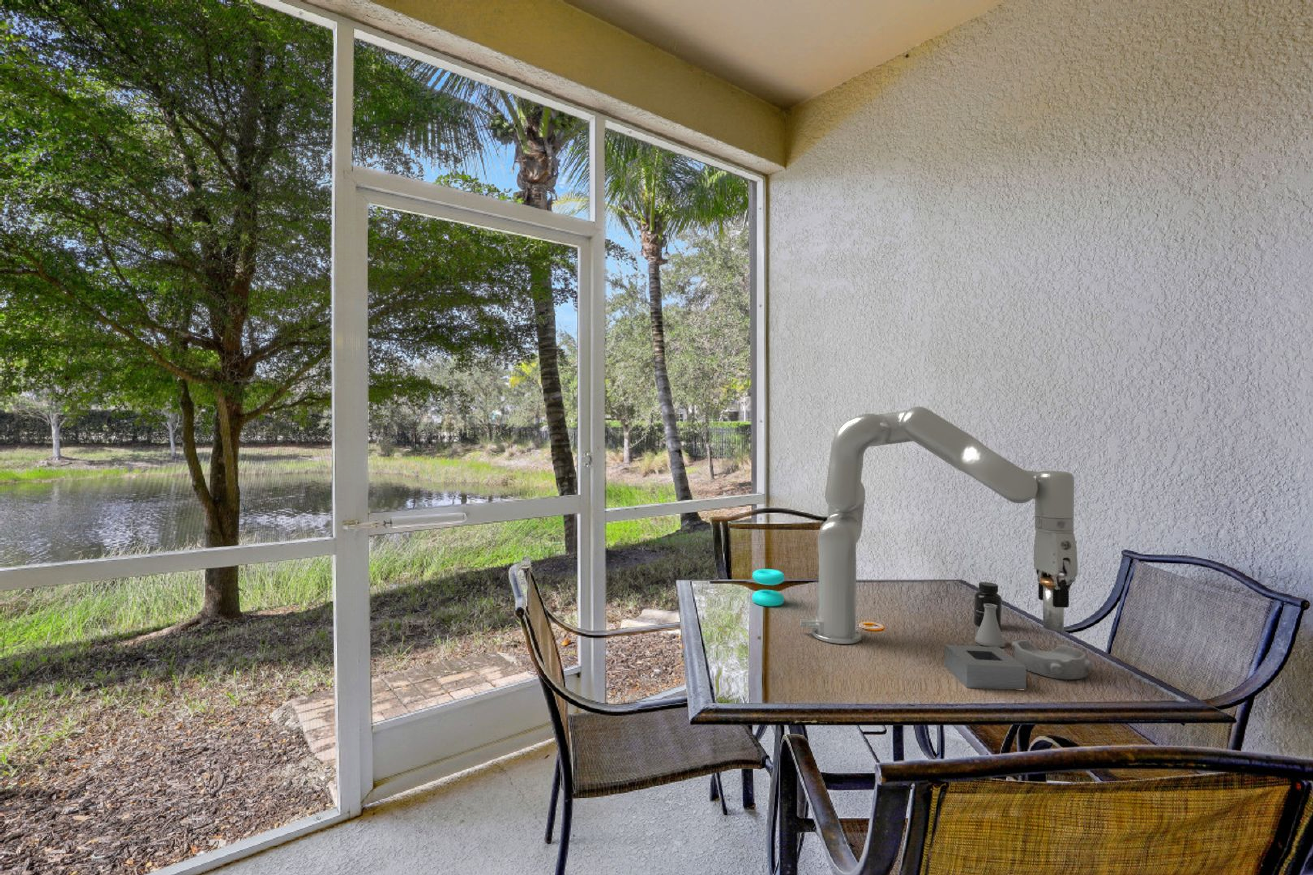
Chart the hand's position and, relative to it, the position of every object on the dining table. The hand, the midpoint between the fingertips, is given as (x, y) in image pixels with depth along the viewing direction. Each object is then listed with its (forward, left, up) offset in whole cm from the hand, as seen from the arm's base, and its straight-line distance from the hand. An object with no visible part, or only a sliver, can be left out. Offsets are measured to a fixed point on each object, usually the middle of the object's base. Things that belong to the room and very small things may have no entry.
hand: (1053, 602), depth 140 cm
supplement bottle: (0, +32, -16) cm, 36 cm away
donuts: (-60, +47, -16) cm, 78 cm away
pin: (0, 0, -6) cm, 6 cm away
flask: (-6, +17, -16) cm, 24 cm away
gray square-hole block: (-18, -7, -16) cm, 25 cm away
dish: (0, 0, -16) cm, 16 cm away
